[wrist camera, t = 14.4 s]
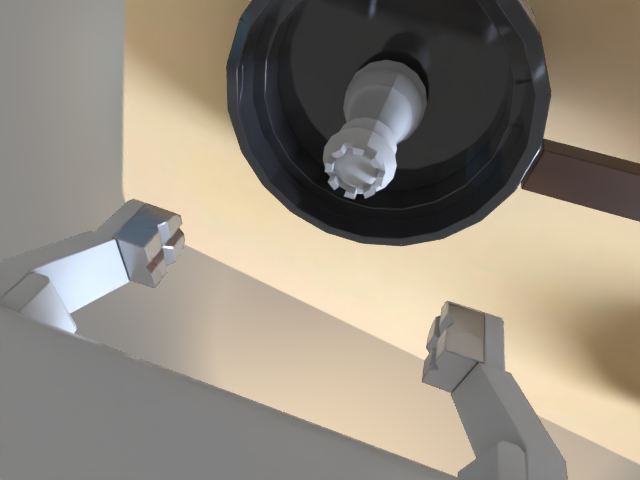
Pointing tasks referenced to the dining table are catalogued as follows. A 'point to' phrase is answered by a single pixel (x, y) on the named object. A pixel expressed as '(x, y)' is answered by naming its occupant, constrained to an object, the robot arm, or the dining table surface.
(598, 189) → the pan handle
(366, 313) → the dining table surface
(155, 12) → the dining table surface
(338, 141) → the rook chess piece
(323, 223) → the pan
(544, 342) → the dining table surface
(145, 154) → the dining table surface
